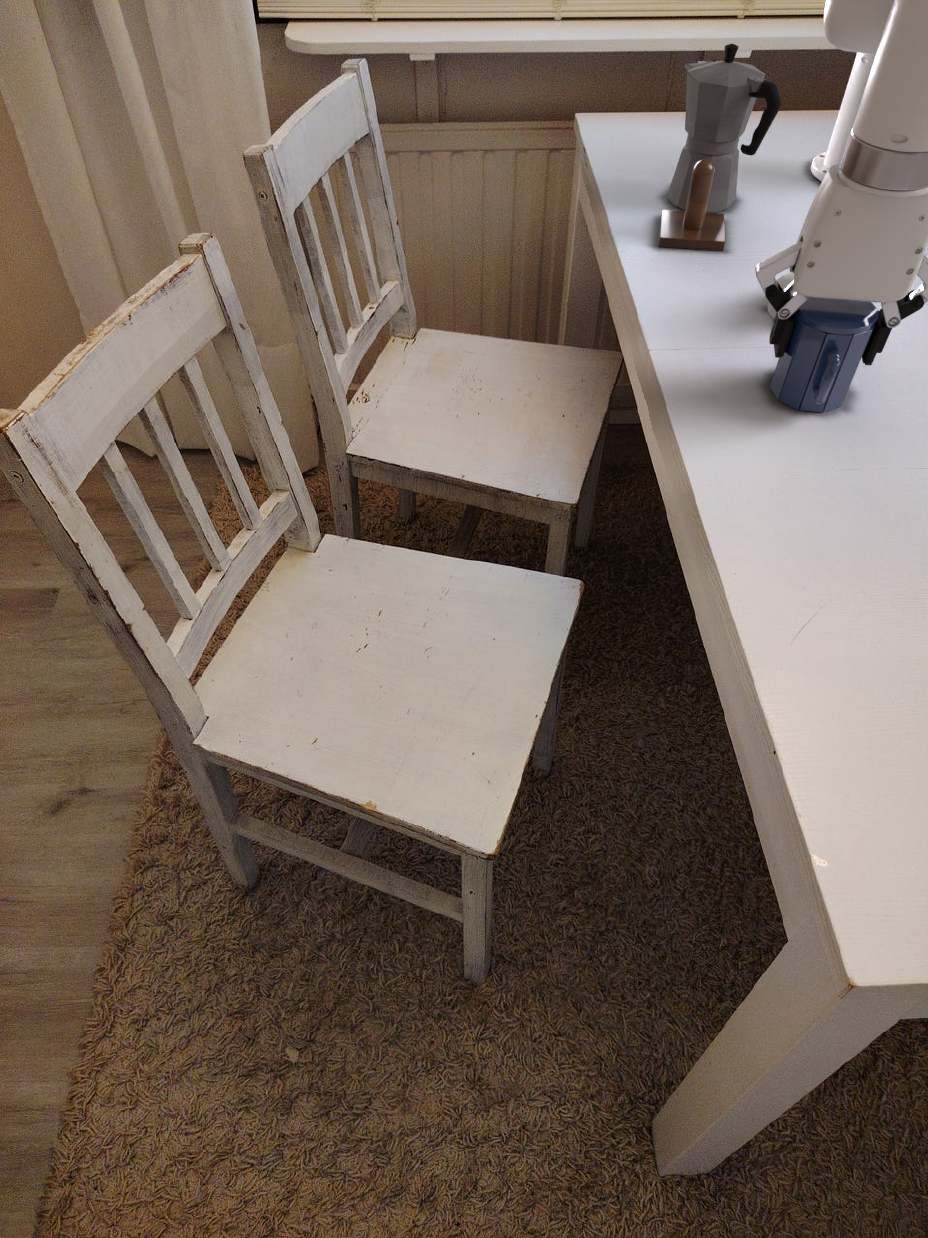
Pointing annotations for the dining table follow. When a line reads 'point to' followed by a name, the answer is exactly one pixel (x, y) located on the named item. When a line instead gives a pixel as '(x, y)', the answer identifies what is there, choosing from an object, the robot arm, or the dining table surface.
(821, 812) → the dining table surface
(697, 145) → the coffeepot
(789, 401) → the cup
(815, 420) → the dining table surface
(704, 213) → the cup stand
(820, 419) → the dining table surface
